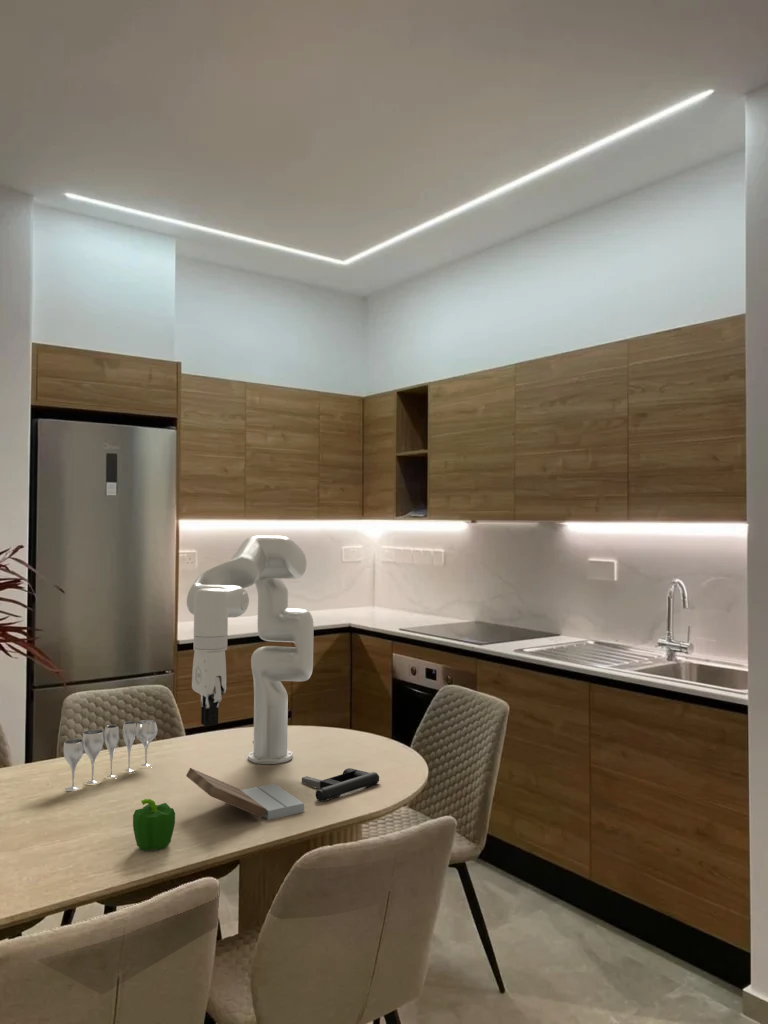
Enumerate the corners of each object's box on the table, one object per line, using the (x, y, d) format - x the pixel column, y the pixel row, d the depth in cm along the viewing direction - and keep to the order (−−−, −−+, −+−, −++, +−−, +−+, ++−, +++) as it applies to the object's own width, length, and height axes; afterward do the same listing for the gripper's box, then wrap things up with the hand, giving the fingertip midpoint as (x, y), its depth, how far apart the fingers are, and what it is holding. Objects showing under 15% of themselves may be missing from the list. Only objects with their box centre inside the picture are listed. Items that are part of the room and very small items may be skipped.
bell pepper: (177, 838, 164) (178, 790, 165) (171, 854, 156) (172, 804, 157) (136, 839, 163) (137, 791, 164) (128, 856, 155) (129, 805, 156)
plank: (186, 775, 181) (190, 767, 182) (234, 796, 188) (238, 788, 188) (210, 796, 168) (215, 787, 168) (262, 817, 174) (266, 809, 175)
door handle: (283, 779, 196) (325, 791, 185) (342, 762, 211) (384, 772, 199) (283, 793, 196) (326, 805, 185) (342, 775, 210) (384, 785, 199)
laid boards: (240, 798, 188) (240, 789, 188) (274, 791, 193) (274, 783, 193) (268, 819, 175) (268, 810, 175) (303, 811, 180) (303, 802, 180)
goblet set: (71, 794, 191) (72, 739, 191) (57, 789, 194) (58, 736, 194) (161, 765, 214) (162, 716, 214) (147, 761, 217) (147, 713, 217)
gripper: (183, 640, 181) (182, 719, 180) (206, 649, 168) (205, 734, 168) (214, 637, 185) (213, 715, 184) (239, 646, 172) (238, 729, 172)
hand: (209, 724), depth 176 cm, fingers closed
